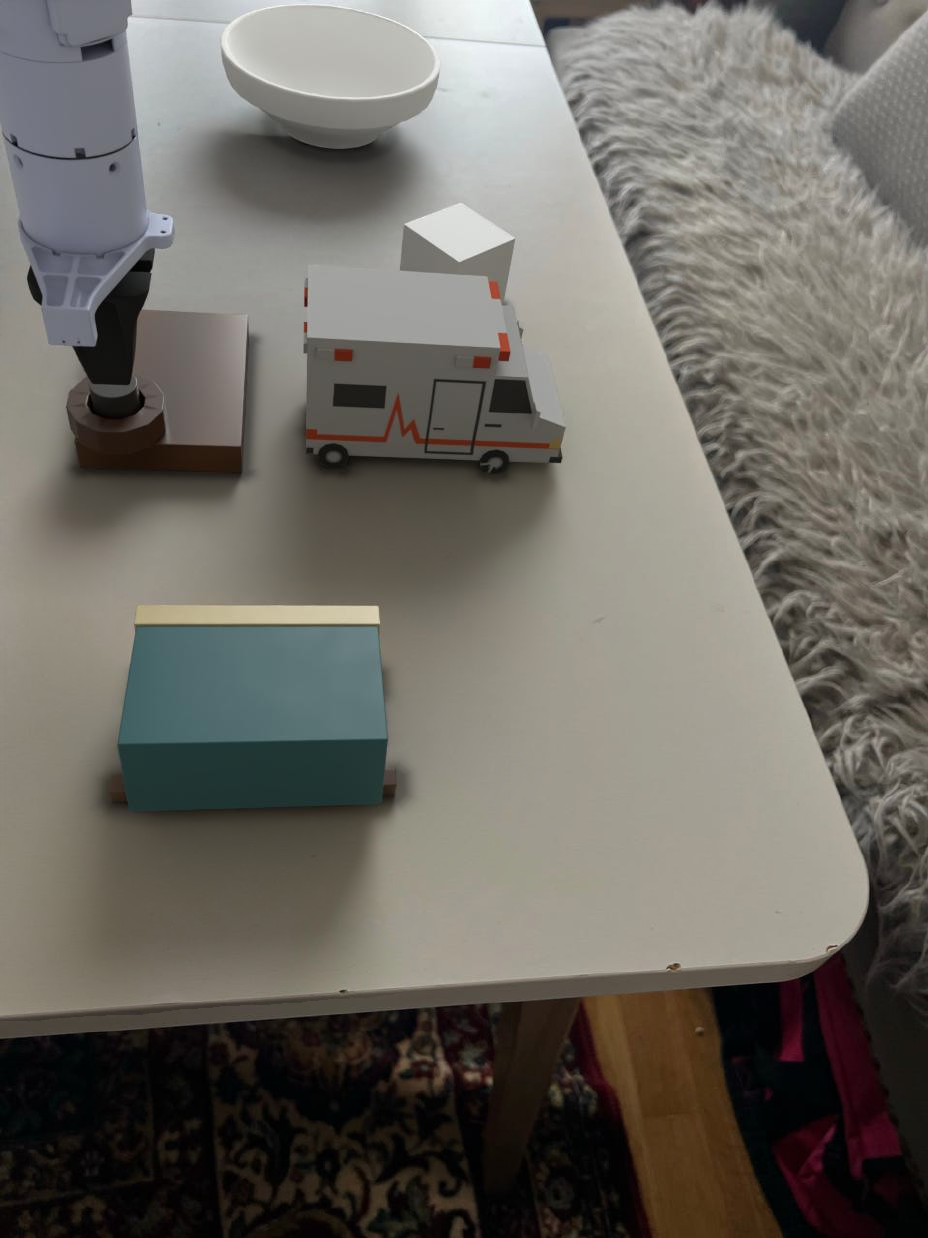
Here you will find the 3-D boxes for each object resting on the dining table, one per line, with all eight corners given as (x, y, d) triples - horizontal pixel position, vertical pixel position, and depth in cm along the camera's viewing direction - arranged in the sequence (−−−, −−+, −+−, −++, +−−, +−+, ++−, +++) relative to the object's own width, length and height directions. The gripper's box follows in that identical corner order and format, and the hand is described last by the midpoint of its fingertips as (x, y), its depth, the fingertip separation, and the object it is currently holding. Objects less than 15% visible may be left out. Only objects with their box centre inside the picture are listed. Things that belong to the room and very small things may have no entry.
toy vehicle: (560, 484, 68) (594, 363, 61) (302, 475, 66) (303, 347, 58) (541, 394, 74) (569, 273, 67) (303, 382, 72) (304, 255, 64)
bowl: (467, 169, 94) (477, 90, 89) (265, 192, 87) (263, 108, 81) (384, 74, 104) (389, -2, 99) (197, 88, 97) (191, 7, 92)
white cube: (502, 306, 81) (515, 238, 76) (449, 332, 78) (459, 262, 73) (451, 270, 83) (460, 201, 78) (397, 293, 80) (403, 223, 75)
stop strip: (111, 802, 49) (108, 792, 49) (113, 784, 50) (110, 774, 49) (395, 794, 52) (397, 785, 51) (394, 777, 52) (395, 768, 52)
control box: (71, 479, 63) (60, 429, 60) (101, 333, 72) (92, 283, 69) (241, 483, 64) (239, 435, 61) (249, 340, 74) (247, 292, 71)
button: (90, 419, 61) (85, 396, 60) (96, 390, 63) (91, 367, 61) (138, 421, 62) (134, 398, 60) (142, 391, 63) (139, 369, 62)
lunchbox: (114, 743, 44) (136, 604, 51) (127, 813, 48) (146, 675, 54) (390, 738, 46) (378, 605, 53) (383, 805, 50) (373, 673, 56)
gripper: (150, 221, 41) (178, 469, 51) (175, 64, 50) (194, 302, 60) (-36, 208, 40) (31, 465, 50) (24, 50, 49) (70, 296, 59)
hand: (111, 376), depth 55 cm, fingers closed
